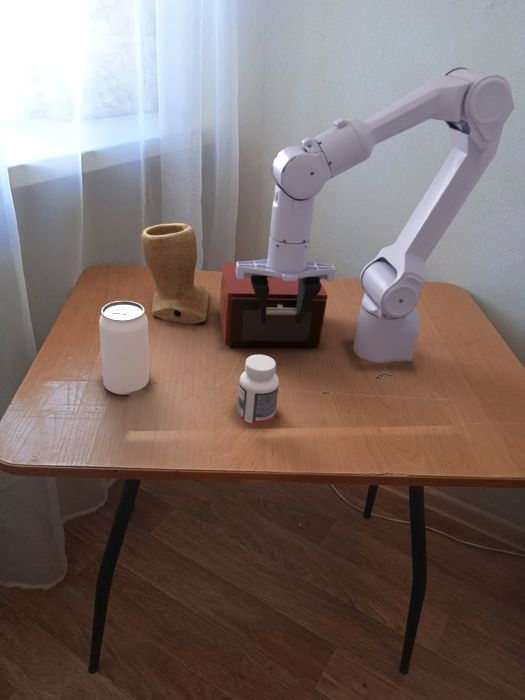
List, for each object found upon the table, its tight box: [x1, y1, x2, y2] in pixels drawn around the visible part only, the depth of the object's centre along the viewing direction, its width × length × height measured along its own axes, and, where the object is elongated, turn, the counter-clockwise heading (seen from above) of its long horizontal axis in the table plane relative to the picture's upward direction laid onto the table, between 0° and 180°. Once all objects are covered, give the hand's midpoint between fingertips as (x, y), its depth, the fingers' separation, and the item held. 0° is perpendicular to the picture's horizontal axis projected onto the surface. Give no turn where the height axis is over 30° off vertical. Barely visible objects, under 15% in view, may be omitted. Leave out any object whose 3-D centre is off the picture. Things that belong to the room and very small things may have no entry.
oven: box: [219, 262, 329, 346], centre depth 96 cm, size 16×12×10 cm
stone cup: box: [140, 222, 209, 325], centre depth 99 cm, size 15×12×15 cm
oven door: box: [228, 297, 325, 349], centre depth 89 cm, size 15×4×9 cm, turn 98°
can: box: [98, 300, 150, 396], centre depth 78 cm, size 6×6×12 cm
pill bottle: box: [236, 354, 280, 425], centre depth 75 cm, size 5×5×9 cm
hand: (279, 320), depth 87 cm, fingers closed on oven door, 5 cm apart
